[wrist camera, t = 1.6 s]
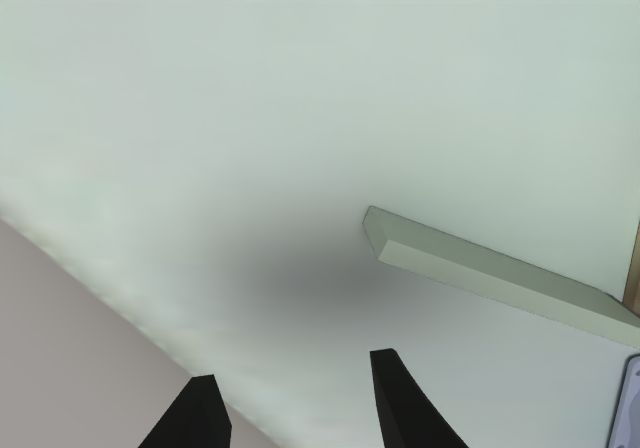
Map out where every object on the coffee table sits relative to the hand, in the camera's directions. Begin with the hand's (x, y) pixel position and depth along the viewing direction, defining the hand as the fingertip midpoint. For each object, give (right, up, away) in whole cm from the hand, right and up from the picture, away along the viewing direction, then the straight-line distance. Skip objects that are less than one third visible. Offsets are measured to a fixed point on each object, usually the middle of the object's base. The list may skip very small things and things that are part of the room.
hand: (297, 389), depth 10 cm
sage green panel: (+10, +3, +9) cm, 14 cm away
